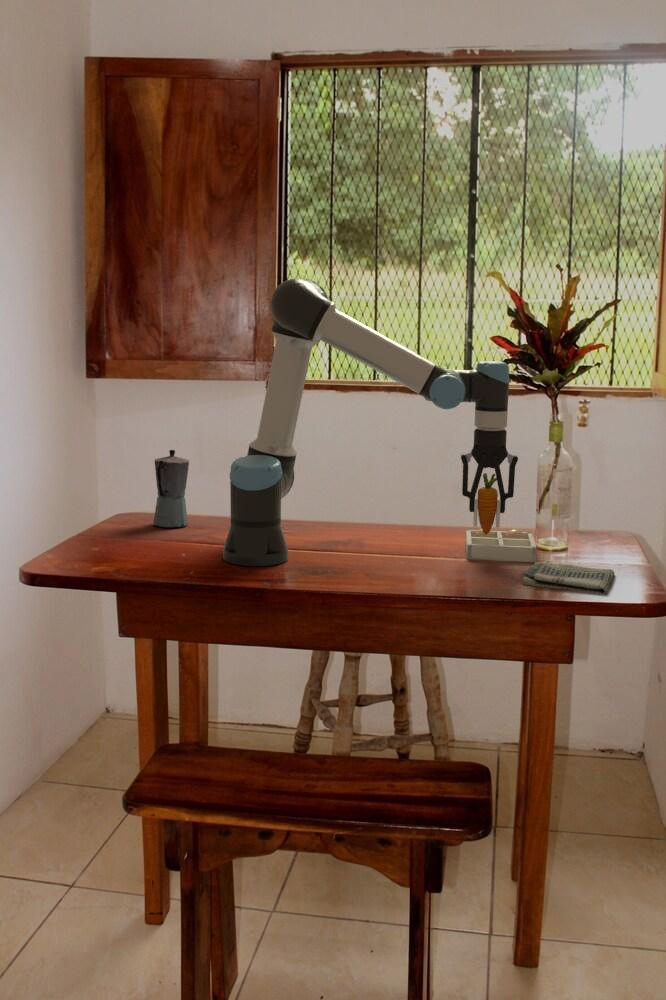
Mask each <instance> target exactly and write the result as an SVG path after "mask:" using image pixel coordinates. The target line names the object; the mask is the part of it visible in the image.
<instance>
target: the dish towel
mask: <svg viewBox="0 0 666 1000" xmlns="http://www.w3.org/2000/svg"><path fill="white" fill-rule="evenodd" d="M522 575H523V576H524V577H523V579H522V584H521V585H522V586H529V587H530V586H532V587H538V588H548V589H555V590H563V591H564V590H567V591H573V592H579V593H580V592H581V593H588V594H589V593H591V594H596V595H606V594H607V593H608V590H609V589H610V587H611V584H612V582H613V581H614V577H615V571H614V570H613V569H612V568H611V569H609V568H607V569H606V568H605V569H604V568H595V567H594V568H593V567H584V566H580V565H573V564H563V563H562V564H561V563H555V562H554V563H553V562H550V561H546V560H544V561H543V562H541V561H536V562H534V564H533V565H532V566H530V567H529V568H528V569H527V570H526V571H524V572H523V574H522Z"/></svg>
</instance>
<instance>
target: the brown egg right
mask: <svg viewBox="0 0 666 1000" xmlns="http://www.w3.org/2000/svg"><path fill="white" fill-rule="evenodd" d="M507 532H508V533H507V534H506V537H505V538H510V539H524V534H523V533H522V532H523V531H521V530H520V529H517V528H513V529H510V530H509V531H507Z"/></svg>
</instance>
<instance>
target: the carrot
mask: <svg viewBox="0 0 666 1000" xmlns="http://www.w3.org/2000/svg"><path fill="white" fill-rule="evenodd" d="M482 477H483V483H484V487H482V486H481V487H480V488H479V489H477V498H478V510H477V516H478V520H479V524H480V528H482V530H483V532H484V534H485V535H487V534H488V533H489V531H490V530H491V529H492V527H493V525H494V522H495V520H496V509H497V498H499V497H498V495H499V492H498V490H497V489H496V488H495V487H492V486H494V485H493V484H495V482H497V478H496V473H492V475H491V477H490V480H489V479H488V474H487V472H485V473H482Z"/></svg>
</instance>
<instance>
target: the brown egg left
mask: <svg viewBox="0 0 666 1000" xmlns="http://www.w3.org/2000/svg"><path fill="white" fill-rule="evenodd" d="M476 530H477V532H476V533H475V537H486V538H493V533H492V531H493V530H491V529H490V531H489V533H488V534H487V535H485V534H484V532H483V530H482V528H481V527H480V528H479V529H476Z"/></svg>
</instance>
